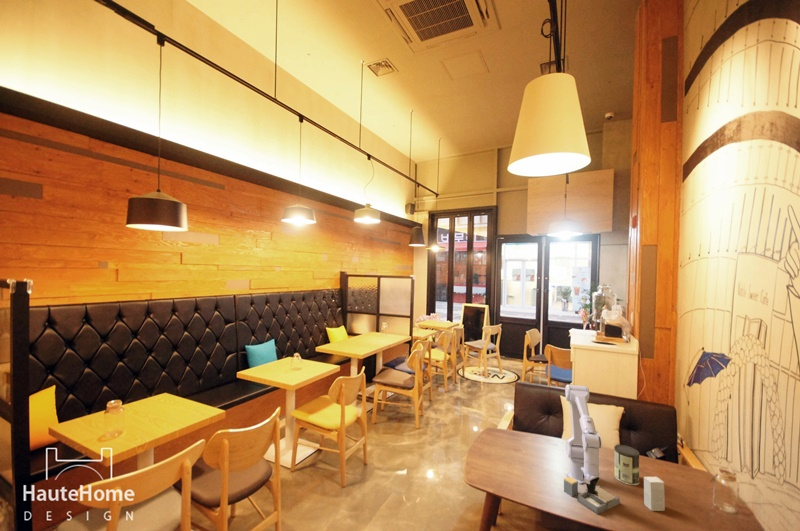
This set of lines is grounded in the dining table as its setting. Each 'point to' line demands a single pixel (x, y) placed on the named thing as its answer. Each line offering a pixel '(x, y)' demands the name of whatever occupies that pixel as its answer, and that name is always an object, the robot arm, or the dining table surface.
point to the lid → (603, 495)
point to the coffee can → (626, 464)
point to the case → (596, 502)
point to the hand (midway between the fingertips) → (591, 492)
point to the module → (570, 486)
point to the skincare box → (654, 494)
